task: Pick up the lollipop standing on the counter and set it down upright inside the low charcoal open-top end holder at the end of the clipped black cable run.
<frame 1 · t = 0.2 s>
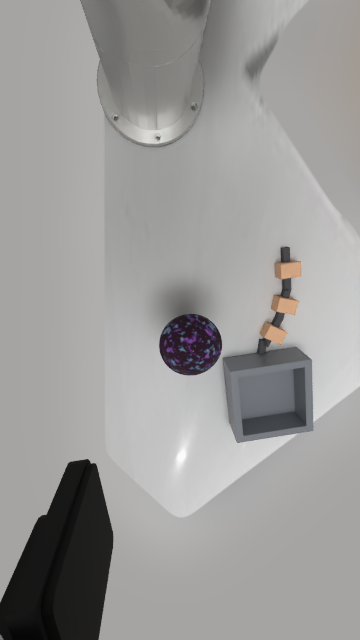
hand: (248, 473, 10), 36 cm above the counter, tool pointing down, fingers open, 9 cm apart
cable run: (276, 310, 46), on the counter
end holder: (262, 386, 49), on the counter
lollipop: (182, 317, 45), on the counter
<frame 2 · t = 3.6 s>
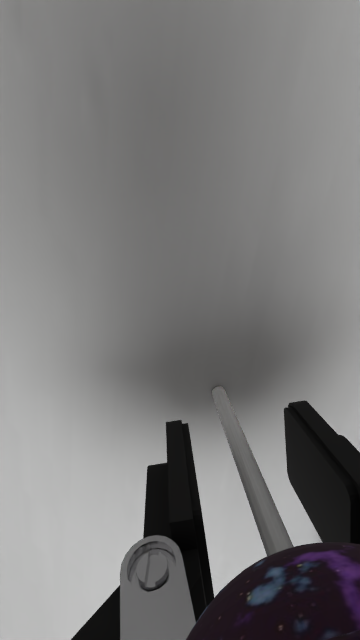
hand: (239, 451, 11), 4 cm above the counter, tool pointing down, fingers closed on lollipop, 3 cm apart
lollipop: (217, 390, 15), on the counter, touching gripper
when the fingers open (5 cm above the counter, at t = 8.7 s): lollipop stays where it is, resting on end holder.
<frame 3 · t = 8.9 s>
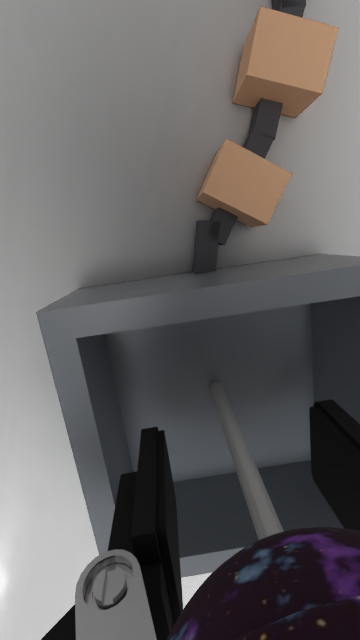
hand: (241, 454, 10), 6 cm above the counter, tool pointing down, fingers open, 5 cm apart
cable run: (253, 113, 13), on the counter
end holder: (213, 382, 16), on the counter
lollipop: (215, 386, 15), point 1 cm above the counter, touching end holder
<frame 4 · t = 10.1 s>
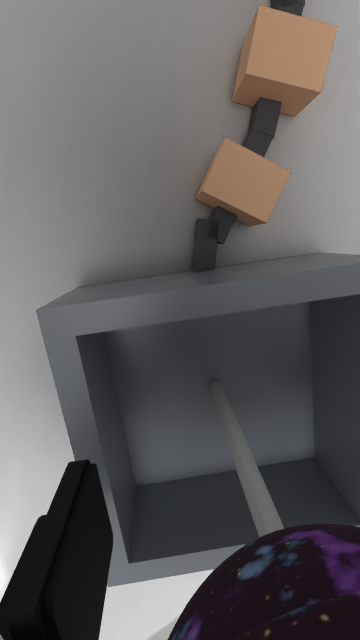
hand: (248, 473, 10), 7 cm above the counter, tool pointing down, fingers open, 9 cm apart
cable run: (252, 111, 13), on the counter
end holder: (213, 380, 16), on the counter
lollipop: (214, 384, 15), point 1 cm above the counter, touching end holder
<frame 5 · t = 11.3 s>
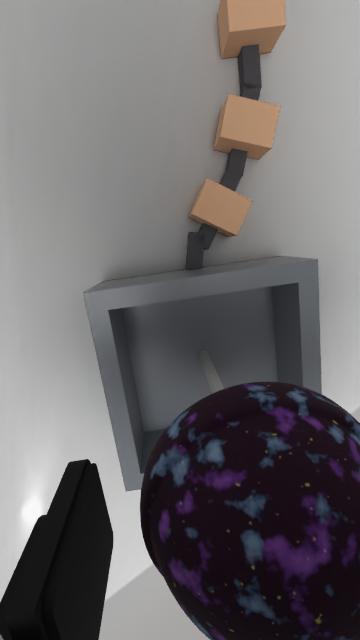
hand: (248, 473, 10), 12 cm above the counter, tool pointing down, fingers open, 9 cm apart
cable run: (228, 156, 18), on the counter
end holder: (202, 352, 21), on the counter
lollipop: (202, 353, 20), point 1 cm above the counter, touching end holder
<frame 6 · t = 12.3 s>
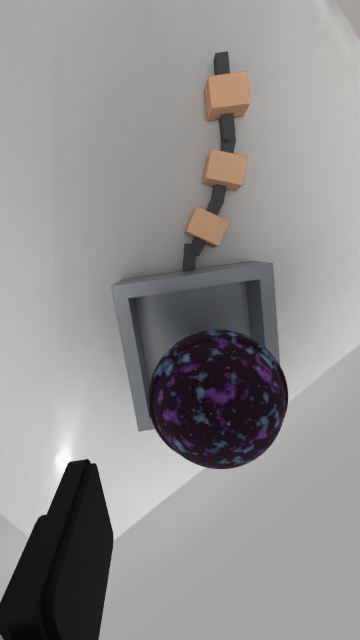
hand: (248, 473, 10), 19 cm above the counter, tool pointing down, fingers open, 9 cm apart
cable run: (213, 188, 25), on the counter
end holder: (195, 333, 28), on the counter
lollipop: (195, 334, 27), point 1 cm above the counter, touching end holder
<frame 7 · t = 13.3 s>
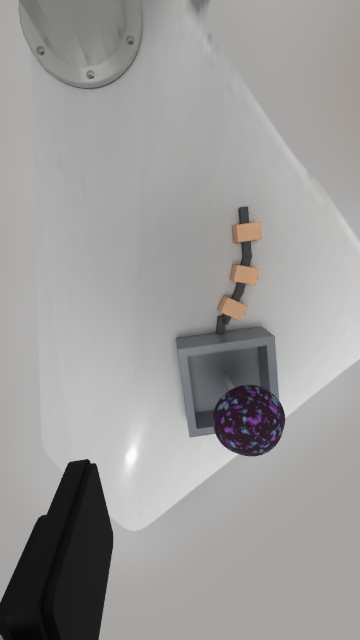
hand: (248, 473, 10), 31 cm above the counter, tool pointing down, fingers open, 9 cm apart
cable run: (236, 282, 40), on the counter
end holder: (223, 372, 42), on the counter
lollipop: (223, 373, 41), point 1 cm above the counter, touching end holder
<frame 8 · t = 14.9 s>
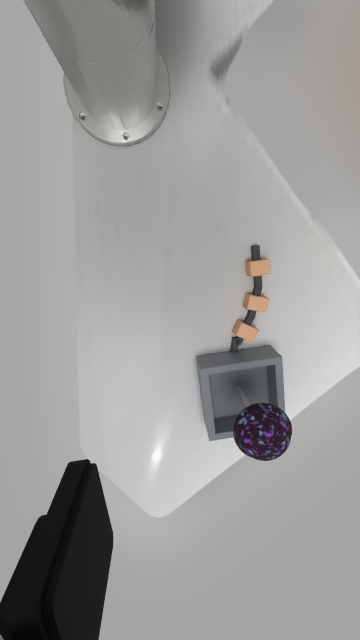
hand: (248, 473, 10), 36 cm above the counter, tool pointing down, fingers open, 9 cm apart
cable run: (248, 308, 46), on the counter
end holder: (236, 384, 49), on the counter
lollipop: (237, 385, 48), point 1 cm above the counter, touching end holder
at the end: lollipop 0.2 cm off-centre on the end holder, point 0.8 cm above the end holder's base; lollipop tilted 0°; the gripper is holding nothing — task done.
